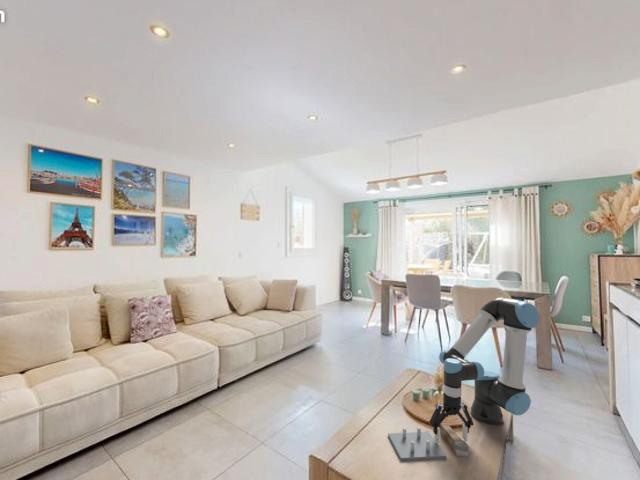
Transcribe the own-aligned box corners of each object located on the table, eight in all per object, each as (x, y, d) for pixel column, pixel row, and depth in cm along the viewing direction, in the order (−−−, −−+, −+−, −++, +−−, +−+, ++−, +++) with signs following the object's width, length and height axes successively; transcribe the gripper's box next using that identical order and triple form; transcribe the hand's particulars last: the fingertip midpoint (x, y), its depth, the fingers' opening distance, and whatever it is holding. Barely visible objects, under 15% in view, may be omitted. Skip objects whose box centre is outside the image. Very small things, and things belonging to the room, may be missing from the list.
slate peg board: (428, 434, 140) (428, 423, 140) (446, 458, 124) (446, 446, 124) (388, 435, 138) (388, 424, 138) (400, 460, 122) (401, 448, 122)
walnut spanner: (438, 433, 141) (439, 423, 141) (448, 432, 142) (448, 423, 142) (457, 456, 126) (457, 445, 126) (468, 455, 126) (468, 445, 126)
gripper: (472, 389, 140) (471, 434, 140) (422, 390, 138) (421, 435, 137) (482, 397, 133) (481, 444, 132) (430, 398, 130) (428, 446, 130)
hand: (450, 440), depth 135 cm, fingers open, 13 cm apart
